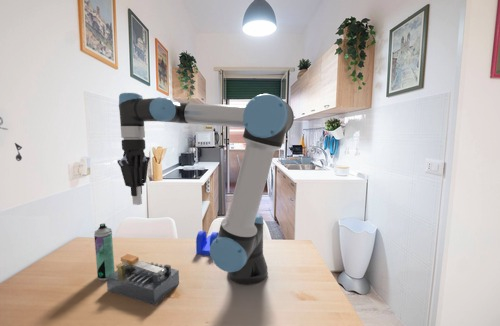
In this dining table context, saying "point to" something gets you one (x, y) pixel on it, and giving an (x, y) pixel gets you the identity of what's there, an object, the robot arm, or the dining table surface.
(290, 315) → the dining table surface
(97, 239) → the spray can
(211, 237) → the bracket
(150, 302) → the finned block
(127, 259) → the bar
